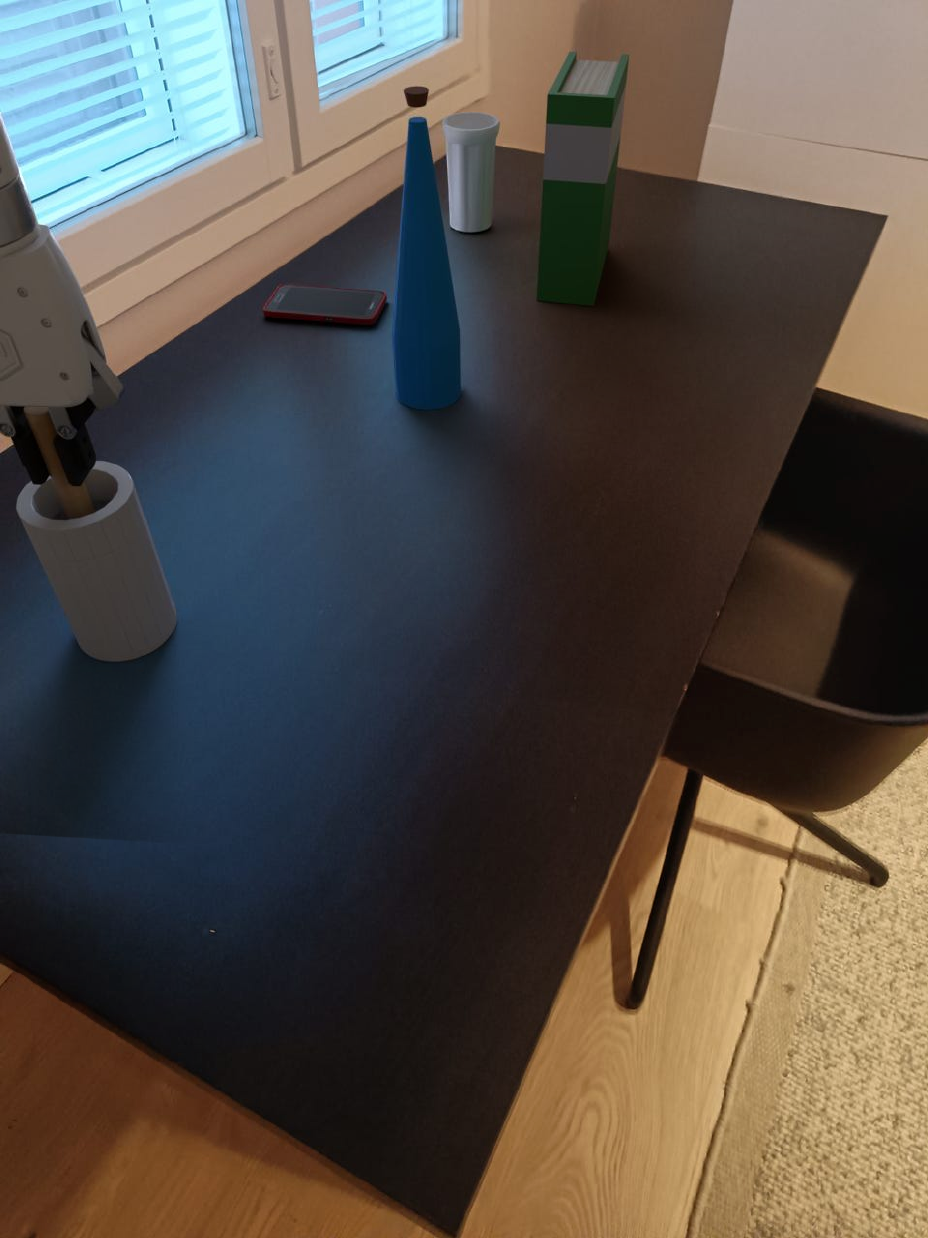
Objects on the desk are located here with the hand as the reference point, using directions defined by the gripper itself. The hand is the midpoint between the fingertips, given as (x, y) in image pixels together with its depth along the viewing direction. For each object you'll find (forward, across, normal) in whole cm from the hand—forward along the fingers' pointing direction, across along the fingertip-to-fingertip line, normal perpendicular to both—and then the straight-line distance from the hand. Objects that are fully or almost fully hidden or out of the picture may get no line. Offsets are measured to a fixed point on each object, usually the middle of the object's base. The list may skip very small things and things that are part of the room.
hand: (64, 472), depth 64 cm
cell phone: (+16, +7, +57) cm, 60 cm away
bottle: (+16, +22, +38) cm, 47 cm away
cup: (+16, +24, +84) cm, 89 cm away
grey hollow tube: (+16, 0, 0) cm, 16 cm away
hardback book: (+16, +39, +69) cm, 81 cm away
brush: (+11, 0, 0) cm, 11 cm away
